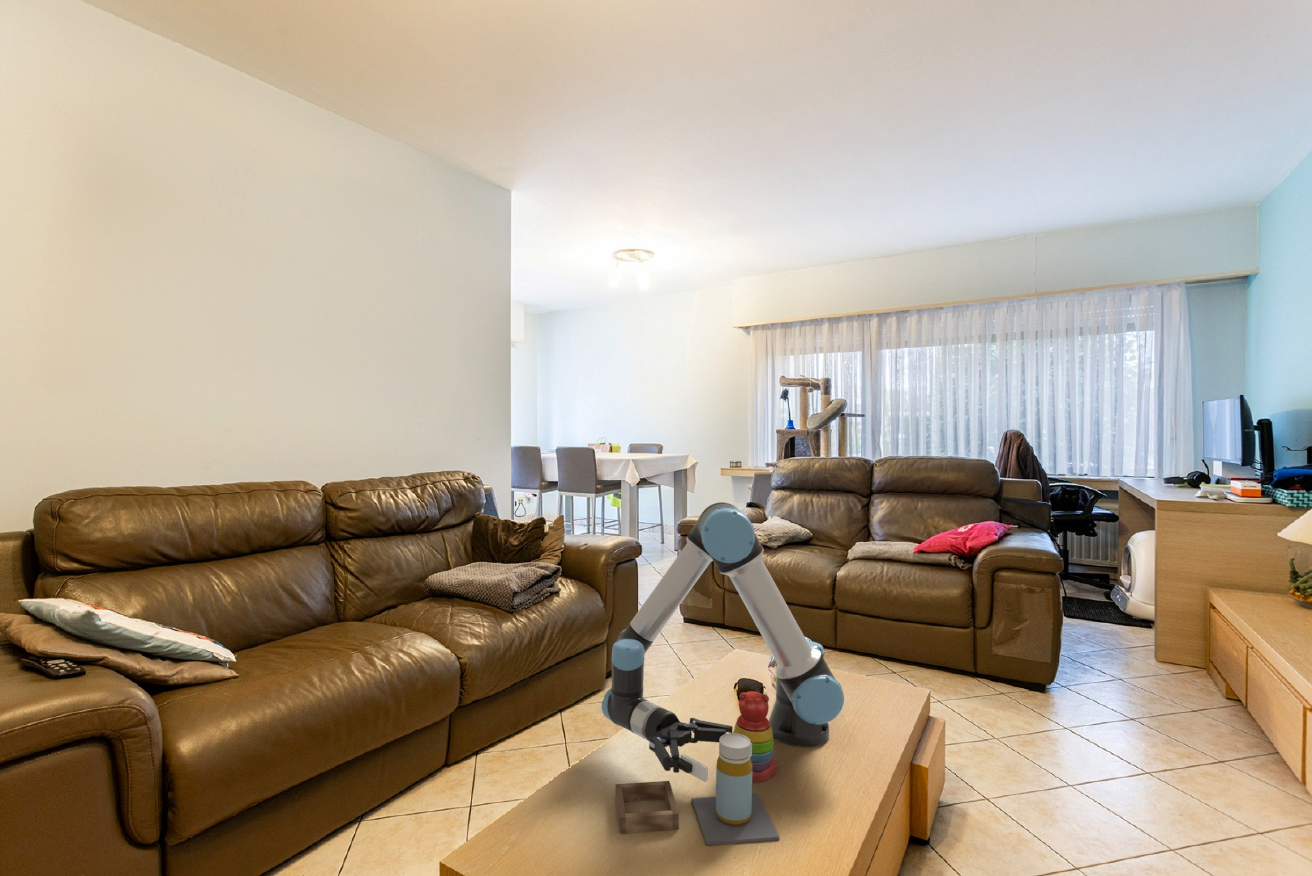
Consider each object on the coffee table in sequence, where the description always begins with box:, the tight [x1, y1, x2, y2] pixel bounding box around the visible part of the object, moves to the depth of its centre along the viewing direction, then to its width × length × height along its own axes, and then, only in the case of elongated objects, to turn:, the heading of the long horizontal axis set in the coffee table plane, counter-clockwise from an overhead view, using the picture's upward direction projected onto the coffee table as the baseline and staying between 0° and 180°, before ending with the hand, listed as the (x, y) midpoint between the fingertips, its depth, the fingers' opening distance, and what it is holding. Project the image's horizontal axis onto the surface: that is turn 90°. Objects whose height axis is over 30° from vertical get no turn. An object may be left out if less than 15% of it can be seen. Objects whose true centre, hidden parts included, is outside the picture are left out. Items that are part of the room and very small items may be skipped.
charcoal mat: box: [691, 793, 780, 846], centre depth 124 cm, size 14×14×1 cm
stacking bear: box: [732, 691, 778, 783], centre depth 142 cm, size 11×10×18 cm
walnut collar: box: [614, 780, 680, 835], centre depth 125 cm, size 11×11×3 cm
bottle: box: [715, 732, 753, 826], centre depth 124 cm, size 7×7×15 cm
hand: (729, 762), depth 124 cm, fingers open, 13 cm apart
